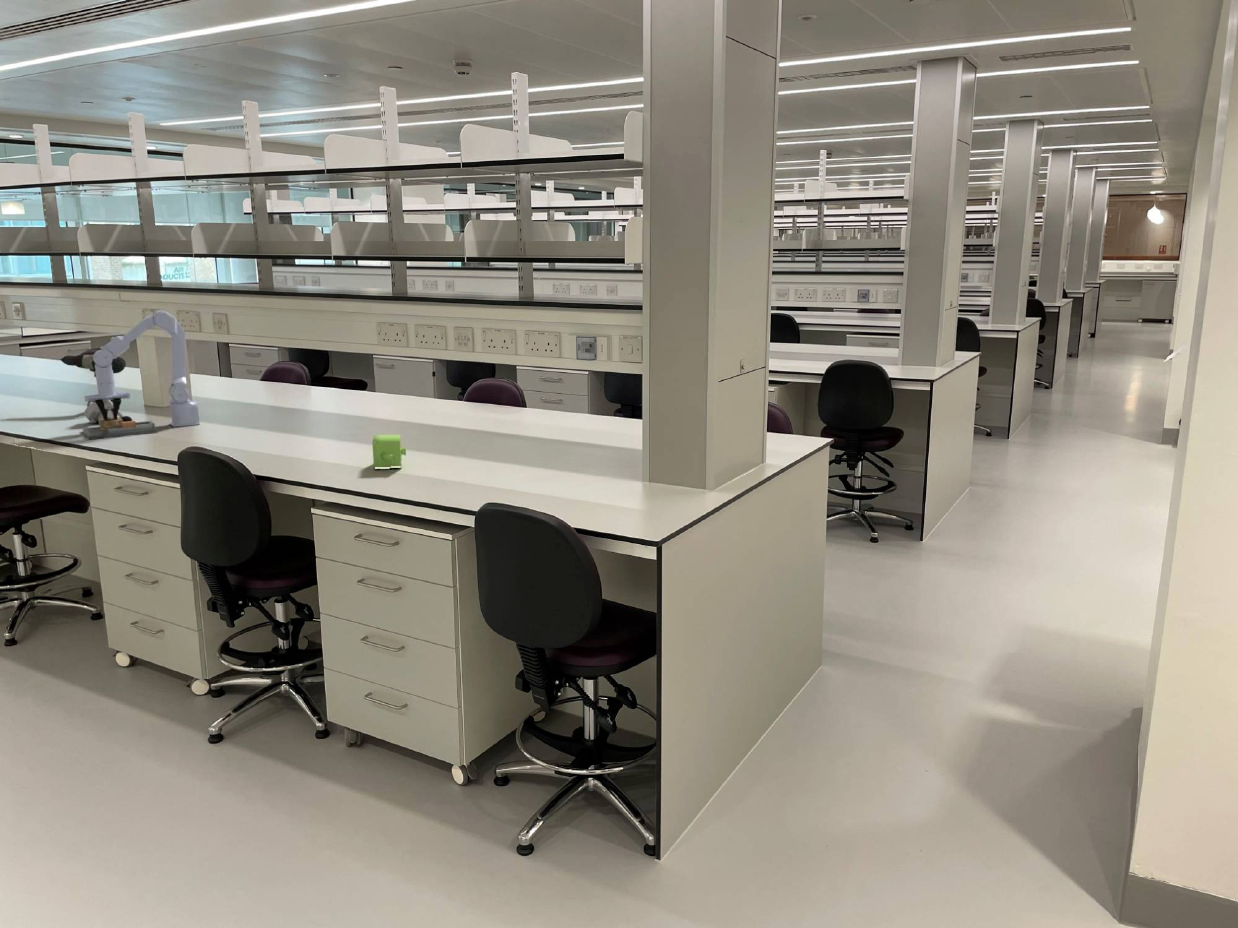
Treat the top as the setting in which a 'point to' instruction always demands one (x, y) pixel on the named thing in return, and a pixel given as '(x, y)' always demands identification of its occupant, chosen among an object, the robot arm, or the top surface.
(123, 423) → the orange rectangular block
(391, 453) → the gearbox
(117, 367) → the power drill
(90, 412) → the mechanical valve
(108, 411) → the cylinder
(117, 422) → the frame
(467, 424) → the top surface
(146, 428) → the slate board
